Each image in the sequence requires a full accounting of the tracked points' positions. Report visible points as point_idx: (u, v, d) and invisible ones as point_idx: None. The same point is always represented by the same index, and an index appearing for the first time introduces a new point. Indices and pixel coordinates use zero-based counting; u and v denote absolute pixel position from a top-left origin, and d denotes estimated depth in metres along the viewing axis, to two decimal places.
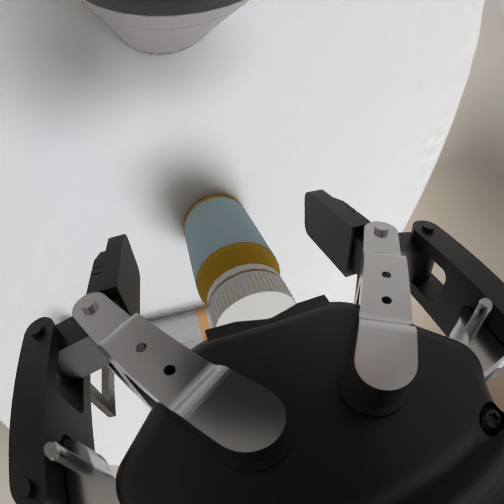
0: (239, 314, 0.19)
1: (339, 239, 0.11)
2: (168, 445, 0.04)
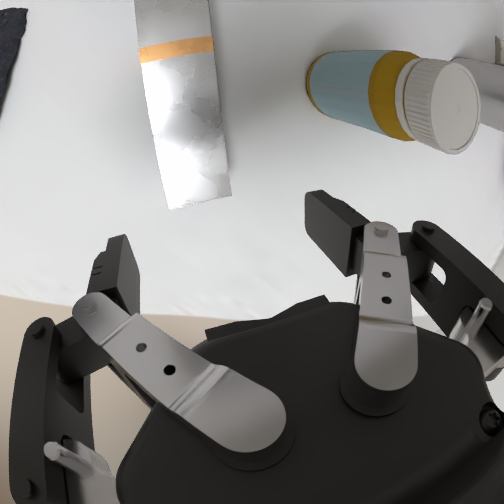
0: (468, 94, 0.12)
1: (339, 239, 0.11)
2: (168, 445, 0.04)
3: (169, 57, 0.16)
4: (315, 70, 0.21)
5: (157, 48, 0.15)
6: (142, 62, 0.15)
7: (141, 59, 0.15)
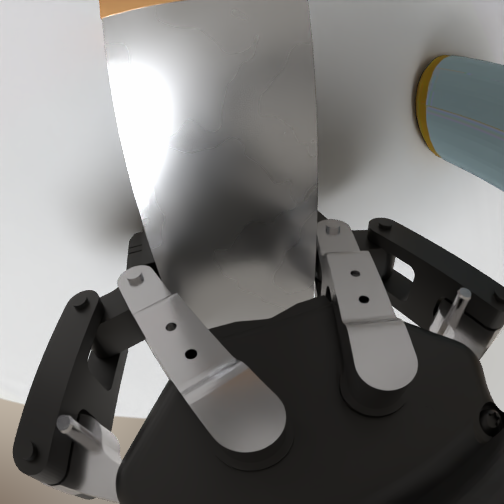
0: None
1: None
2: (168, 445, 0.04)
3: None
4: (439, 82, 0.10)
5: None
6: (105, 13, 0.04)
7: (103, 6, 0.04)
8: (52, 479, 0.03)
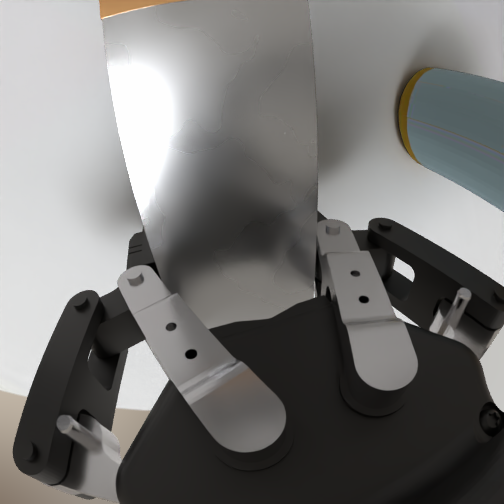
0: None
1: None
2: (168, 445, 0.04)
3: None
4: (419, 95, 0.12)
5: None
6: (105, 14, 0.04)
7: (103, 6, 0.04)
8: (52, 479, 0.03)
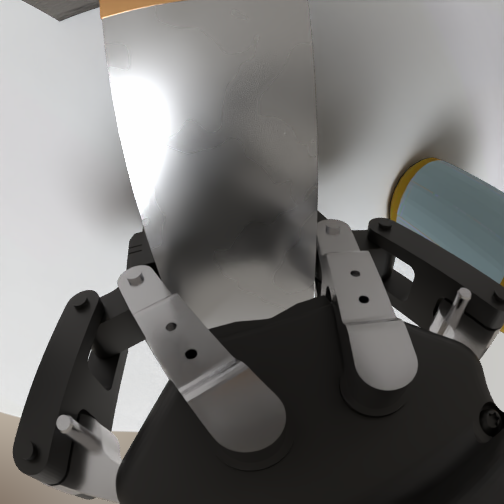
0: None
1: None
2: (168, 445, 0.04)
3: None
4: (410, 197, 0.16)
5: None
6: (105, 14, 0.04)
7: (103, 6, 0.04)
8: (52, 479, 0.03)
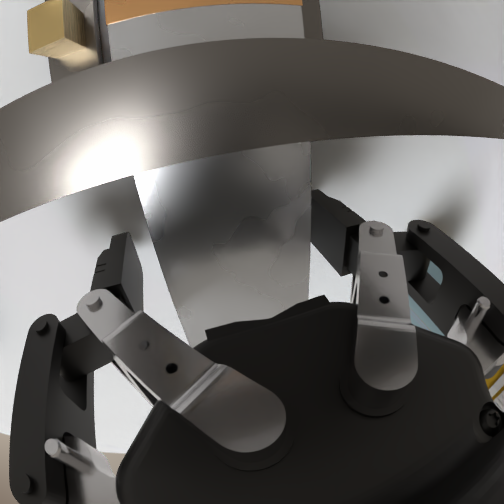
0: None
1: (334, 238, 0.11)
2: (168, 445, 0.04)
3: (186, 6, 0.05)
4: None
5: None
6: (111, 20, 0.05)
7: (108, 13, 0.04)
8: None
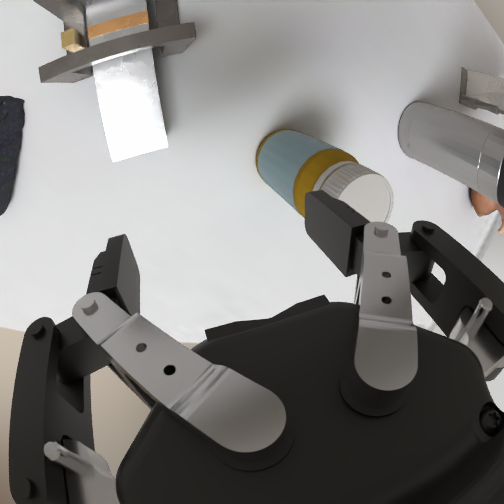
0: (378, 194, 0.20)
1: (339, 239, 0.11)
2: (168, 445, 0.04)
3: (111, 31, 0.16)
4: (261, 154, 0.29)
5: (102, 25, 0.15)
6: (89, 38, 0.15)
7: (89, 35, 0.15)
8: None
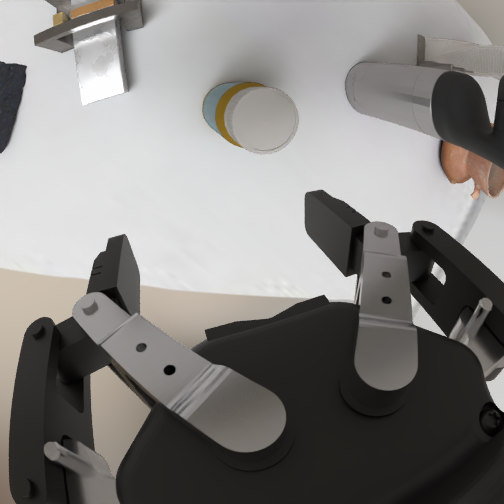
0: (279, 106, 0.23)
1: (339, 239, 0.11)
2: (168, 445, 0.04)
3: (87, 12, 0.19)
4: (204, 101, 0.32)
5: (81, 8, 0.18)
6: (72, 17, 0.18)
7: (71, 16, 0.18)
8: None
